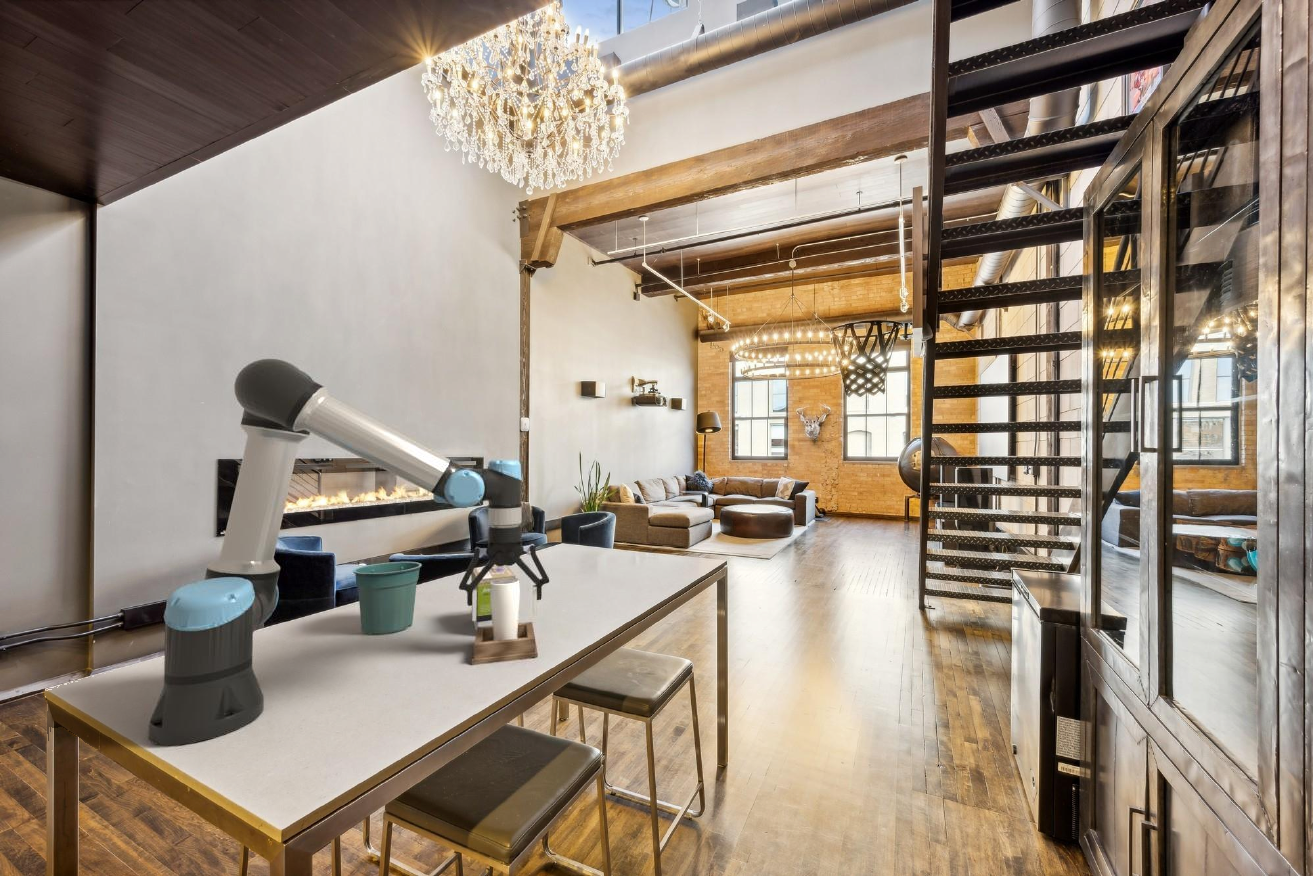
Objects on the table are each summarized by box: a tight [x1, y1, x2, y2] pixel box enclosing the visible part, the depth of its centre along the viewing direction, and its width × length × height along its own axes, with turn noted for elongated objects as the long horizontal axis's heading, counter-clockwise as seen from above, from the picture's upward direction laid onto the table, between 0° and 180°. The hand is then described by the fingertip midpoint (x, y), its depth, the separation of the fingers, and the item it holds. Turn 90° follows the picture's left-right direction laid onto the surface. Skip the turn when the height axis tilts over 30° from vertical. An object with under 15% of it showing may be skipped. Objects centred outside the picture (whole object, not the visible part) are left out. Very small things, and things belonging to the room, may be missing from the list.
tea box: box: [470, 565, 517, 631], centre depth 143 cm, size 15×10×15 cm, turn 25°
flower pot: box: [352, 561, 422, 635], centre depth 142 cm, size 16×16×16 cm
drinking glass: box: [490, 577, 521, 641], centre depth 124 cm, size 7×7×15 cm
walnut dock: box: [471, 621, 539, 666], centre depth 124 cm, size 14×14×4 cm
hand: (505, 616), depth 124 cm, fingers open, 13 cm apart
